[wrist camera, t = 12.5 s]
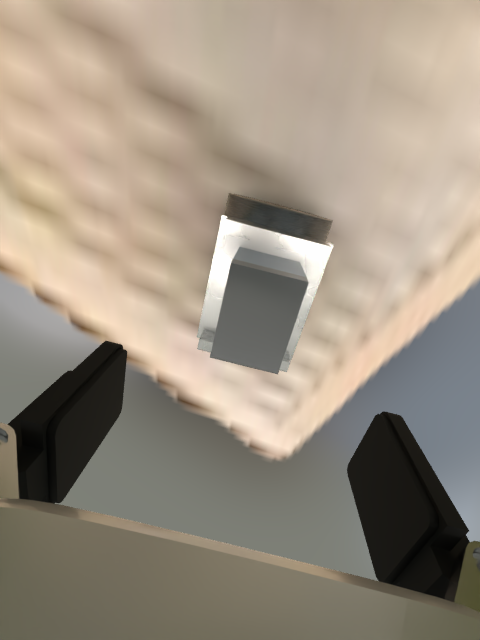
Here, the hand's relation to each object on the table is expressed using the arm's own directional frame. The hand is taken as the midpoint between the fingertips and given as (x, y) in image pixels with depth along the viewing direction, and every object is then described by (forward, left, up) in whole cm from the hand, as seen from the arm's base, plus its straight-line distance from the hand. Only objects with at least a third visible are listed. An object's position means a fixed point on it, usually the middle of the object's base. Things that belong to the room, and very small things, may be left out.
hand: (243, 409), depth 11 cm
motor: (+1, 0, -26) cm, 26 cm away
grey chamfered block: (+1, 0, -15) cm, 15 cm away
